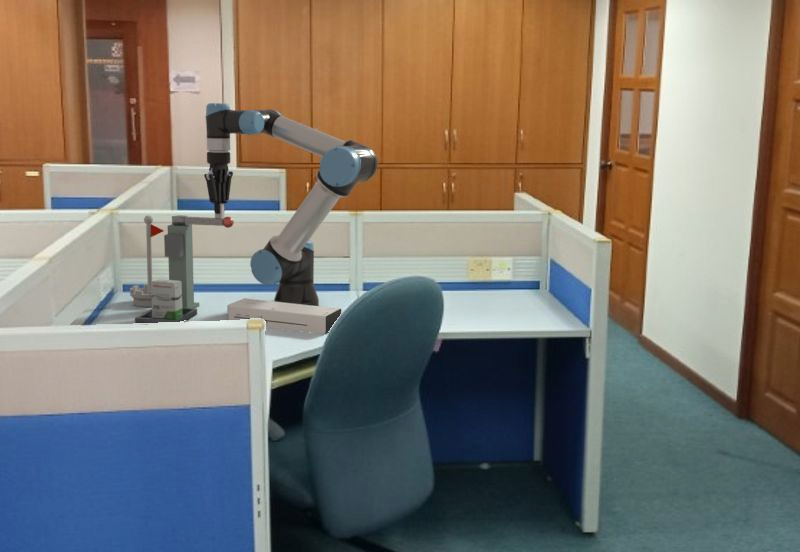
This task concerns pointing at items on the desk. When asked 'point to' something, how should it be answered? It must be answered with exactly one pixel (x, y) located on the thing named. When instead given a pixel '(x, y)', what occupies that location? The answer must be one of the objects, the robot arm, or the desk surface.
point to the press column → (181, 260)
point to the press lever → (202, 221)
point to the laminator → (285, 315)
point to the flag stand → (144, 294)
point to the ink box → (166, 299)
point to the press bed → (148, 318)
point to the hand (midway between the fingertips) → (219, 223)
